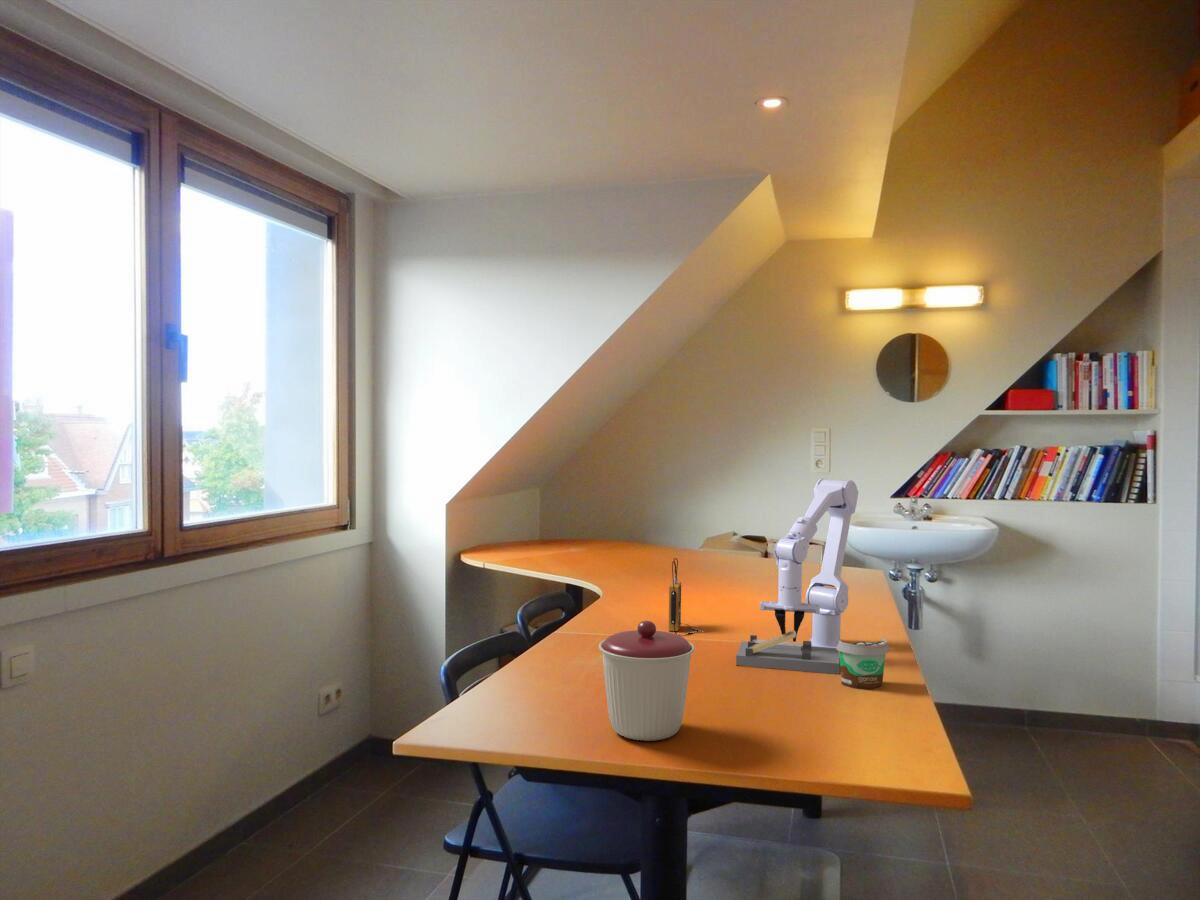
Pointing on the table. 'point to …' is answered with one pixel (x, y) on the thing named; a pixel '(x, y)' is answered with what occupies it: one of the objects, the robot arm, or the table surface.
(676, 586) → the riveted handle with loop
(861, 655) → the food container
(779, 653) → the mounting plate
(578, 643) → the table surface
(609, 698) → the canister
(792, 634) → the bar
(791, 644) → the bar
